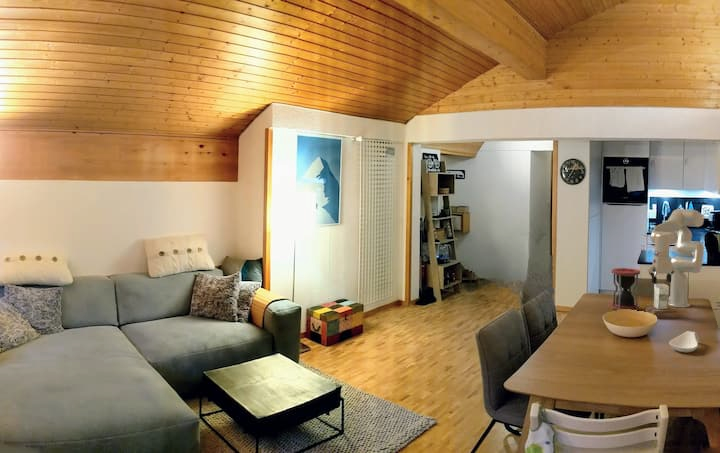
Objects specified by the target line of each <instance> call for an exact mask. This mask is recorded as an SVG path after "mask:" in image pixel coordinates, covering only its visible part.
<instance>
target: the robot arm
mask: <svg viewBox="0 0 720 453" xmlns="http://www.w3.org/2000/svg"><path fill="white" fill-rule="evenodd" d="M704 221H705V219H704V215H703V214H702V213H701V212H700V211H698V210H696V209H686V208H677V209H674V210H673V211H672V212H671V214H670V215H669V217H668V218H667V221H664V222H662V223H660V224H658V225H656V226H655V227H654V228H653V230H652V231H651V233H650V237H649V238H650V239H649V240H650V242H652V243H653V244H654V252H653V258H652V264H651V267H650V268H648V269H647V272H648V274H649V275H650V277H651V283H653V284H658V283H657V275H664V274H666V277H665V278H666V282H668V283H670V286H669V295H668V306H670V307H674V308H675V307H676V308H689V307H690V306H691V304H690V303H689V302H688V296H689V295H688V291H689V289H688V287H689V278H688V276H687V275H686V273H688V274H689V273H691V274H699V273H700V272H701V270H702V265H703V258H704V252H705V247H704V244H703V242H700V241H695V240H694V241H693V240H692V236H693V234H692V232H691V230H690V229H689V228H688V227H696V228H699V227H701V226H703V225H704ZM670 245H671V246H672V245H674V253H675V254H676V255H678V256H670Z"/></svg>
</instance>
